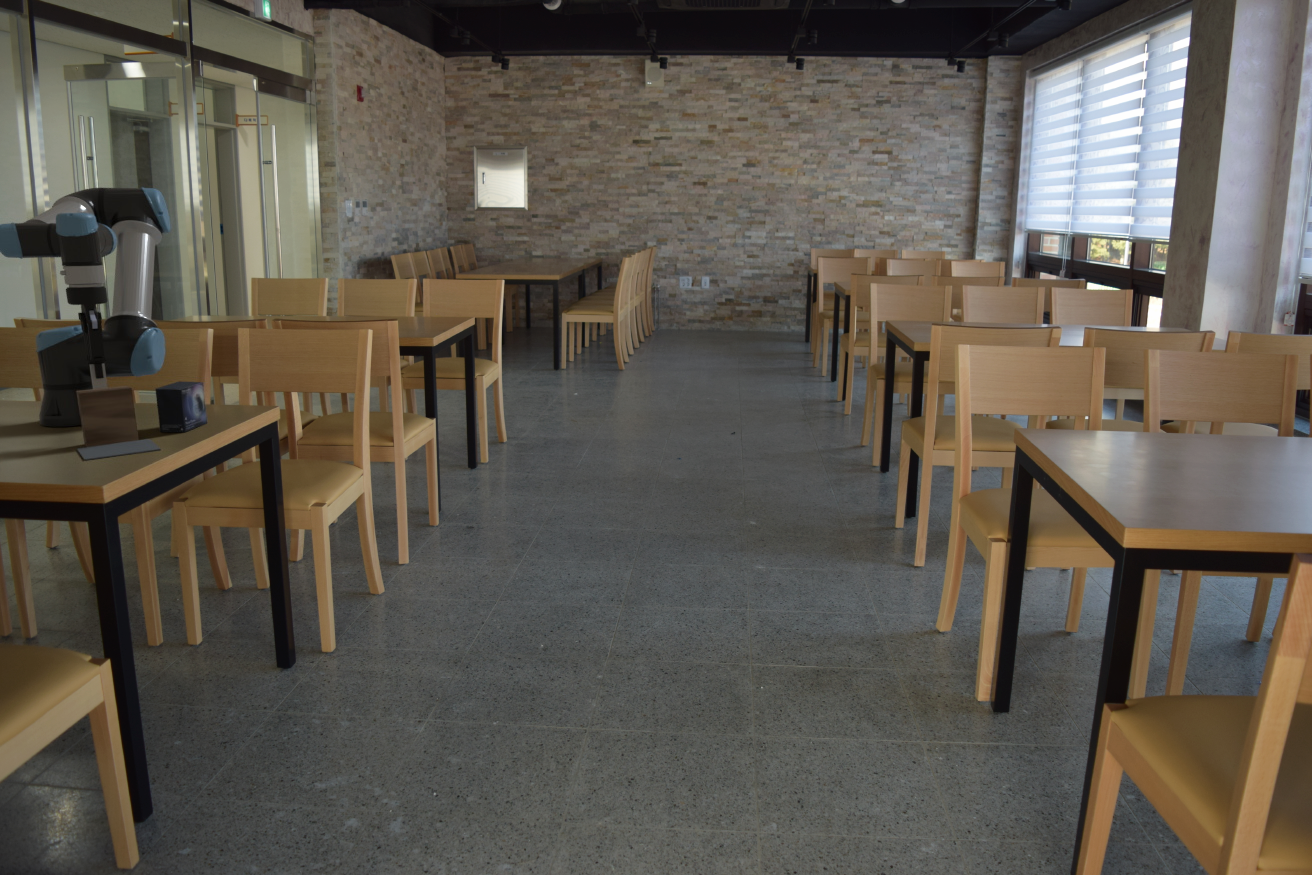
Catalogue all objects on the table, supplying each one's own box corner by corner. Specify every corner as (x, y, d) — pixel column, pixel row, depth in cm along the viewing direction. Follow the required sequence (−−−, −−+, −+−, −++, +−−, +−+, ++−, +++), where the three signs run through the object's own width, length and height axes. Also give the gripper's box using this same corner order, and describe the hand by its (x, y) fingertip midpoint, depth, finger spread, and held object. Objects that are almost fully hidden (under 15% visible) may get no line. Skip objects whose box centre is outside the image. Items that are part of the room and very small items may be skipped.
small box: (186, 433, 211) (181, 388, 208) (158, 433, 211) (153, 388, 208) (209, 423, 221) (204, 380, 219) (183, 423, 221) (177, 380, 219)
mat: (76, 449, 195) (76, 448, 195) (149, 440, 204) (149, 438, 204) (84, 460, 186) (84, 459, 186) (160, 450, 194) (160, 448, 194)
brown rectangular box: (84, 444, 200) (76, 390, 197) (135, 437, 206) (128, 385, 203) (87, 447, 197) (78, 393, 194) (138, 440, 203) (131, 388, 200)
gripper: (61, 285, 200) (77, 390, 205) (68, 287, 190) (85, 398, 195) (101, 284, 205) (115, 387, 210) (109, 286, 195) (124, 394, 200)
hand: (101, 392), depth 203 cm, fingers closed
